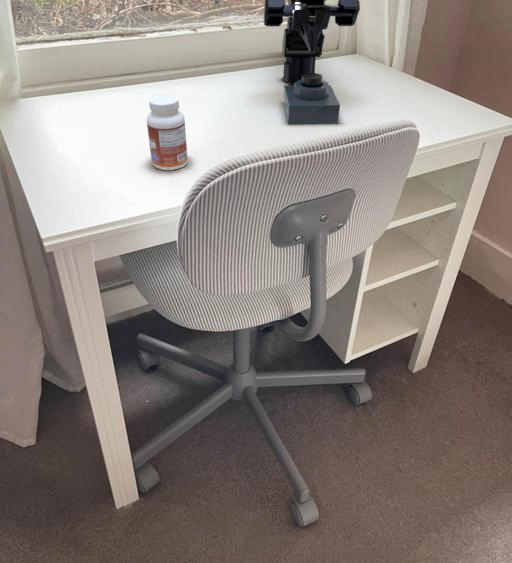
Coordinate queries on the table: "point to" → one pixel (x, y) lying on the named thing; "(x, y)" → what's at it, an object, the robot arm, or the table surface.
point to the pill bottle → (166, 133)
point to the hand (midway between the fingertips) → (312, 51)
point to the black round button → (312, 80)
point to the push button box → (311, 104)
